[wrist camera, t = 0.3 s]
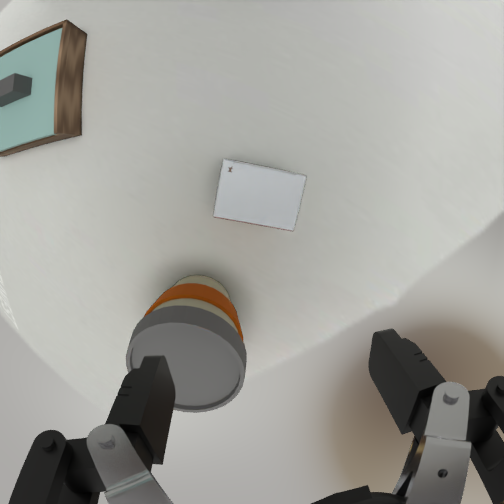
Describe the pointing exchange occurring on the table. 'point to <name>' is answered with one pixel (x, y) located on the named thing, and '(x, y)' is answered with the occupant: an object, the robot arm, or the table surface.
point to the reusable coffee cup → (194, 343)
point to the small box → (258, 195)
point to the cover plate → (42, 94)
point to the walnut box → (61, 83)
